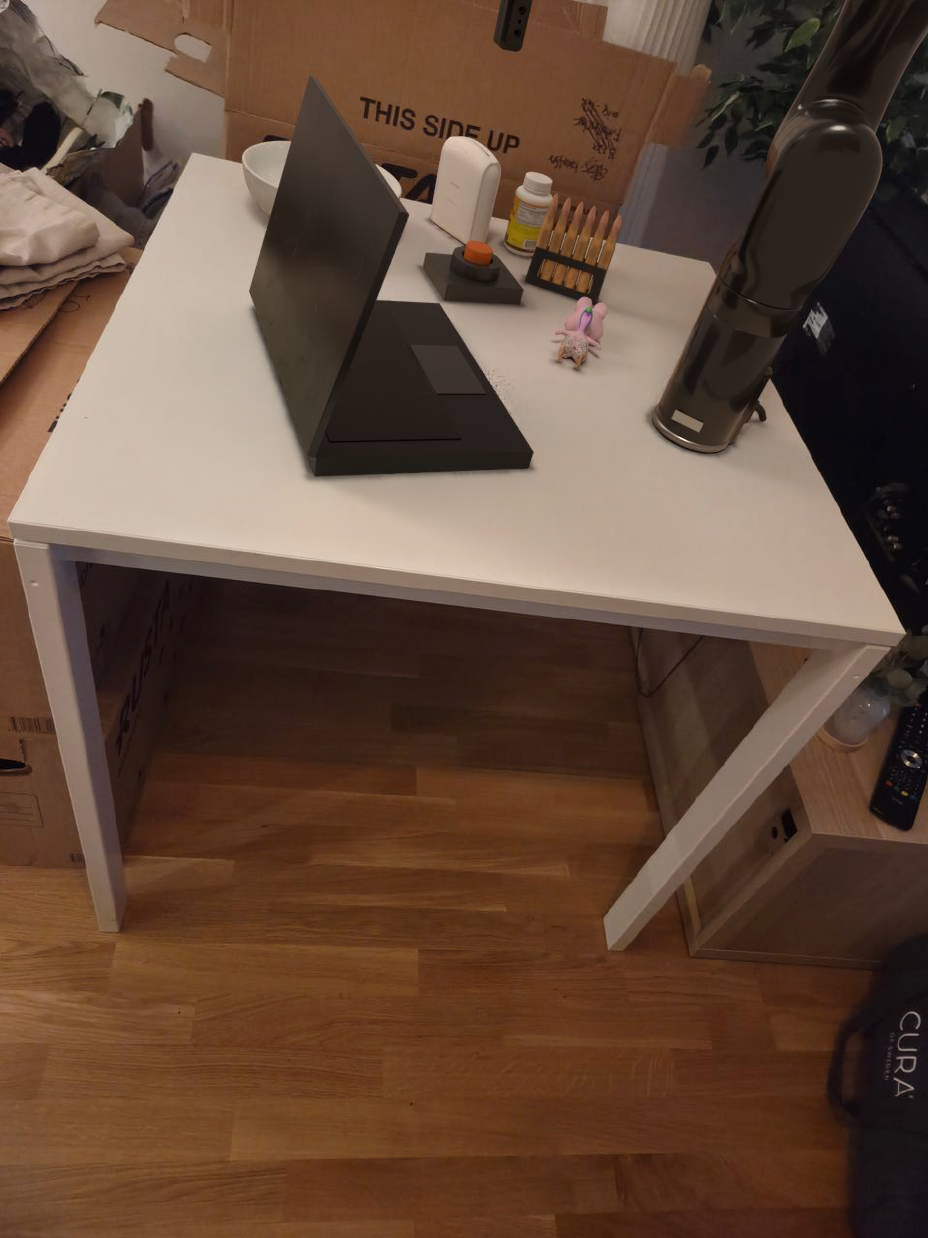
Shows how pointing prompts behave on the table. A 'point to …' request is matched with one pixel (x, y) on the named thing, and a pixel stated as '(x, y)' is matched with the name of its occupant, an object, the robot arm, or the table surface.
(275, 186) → the serving bowl
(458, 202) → the photo printer
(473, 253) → the power button
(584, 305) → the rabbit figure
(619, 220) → the ammunition clip
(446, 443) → the laptop
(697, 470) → the table surface
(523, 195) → the supplement bottle
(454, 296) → the switch box
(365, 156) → the laptop screen
